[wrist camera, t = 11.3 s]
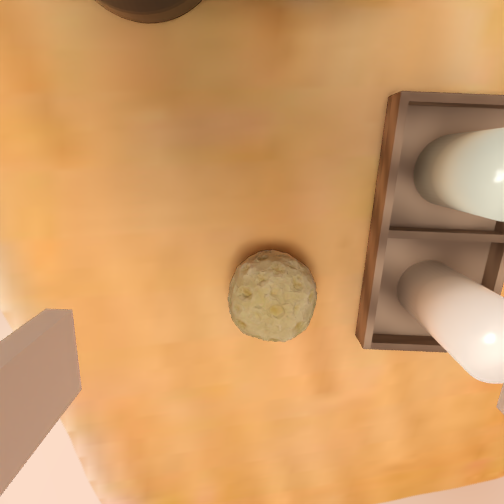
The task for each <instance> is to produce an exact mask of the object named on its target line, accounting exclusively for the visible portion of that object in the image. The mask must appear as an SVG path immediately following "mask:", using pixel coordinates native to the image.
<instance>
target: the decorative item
mask: <svg viewBox="0 0 504 504" xmlns="http://www.w3.org/2000/svg"><path fill="white" fill-rule="evenodd" d="M316 299H317V292H316V284H315V282H314V279H313V276H312V274H311V272H310V271H309V269H308V268H307V267H306V266H305V265H304V264H303V263H301V262H299V261H298V260H297V259H295V258H293V257H292V256H291V255H289V254H288V253H283V252H280V251H277V250H265V251H259V252H258V253H256V254H254V255H252V256H249V257H248V258H247V259H246V260H245V261H244V262H242V263H241V264H240V265H239V266H238V267H237V268H236V271H235V273H234V275H233V277H232V280H231V282H230V288H229V295H228V302H229V309H230V314H231V318H232V320H233V322H234V323H235V325H236V326H237V327H238V328H239V329H240V330H241V332H242V333H244V334H246V335H249V336H252V337H256V338H258V339H263V340H265V341H274V342H277V341H281V342H286V341H288V340H291V339H292V338H294V337H296V336H297V335H298V334H300V333H301V332H303V331H304V330H306V328H307V327H308V325H309V323H310V320H311V318H312V315H313V311H314V308H315V305H316Z"/></svg>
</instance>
